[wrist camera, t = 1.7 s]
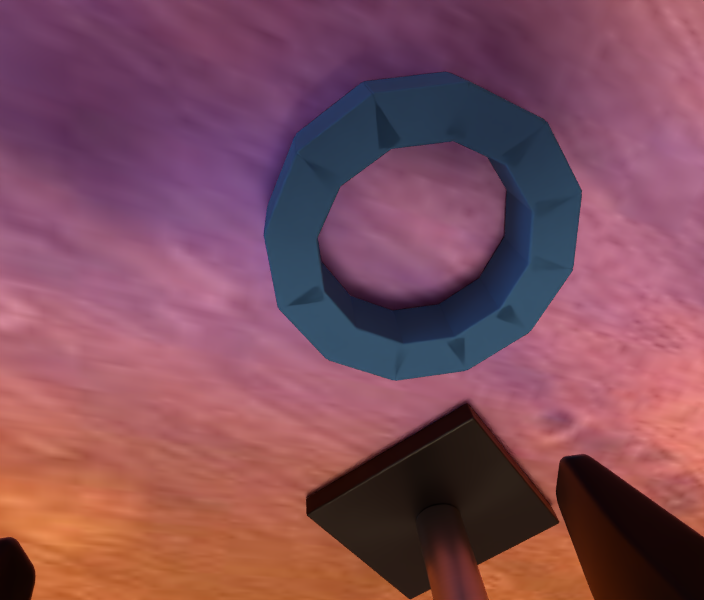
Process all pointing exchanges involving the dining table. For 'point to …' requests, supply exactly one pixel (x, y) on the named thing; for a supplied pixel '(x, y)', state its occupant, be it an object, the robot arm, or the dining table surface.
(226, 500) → the dining table surface
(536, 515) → the peg stand
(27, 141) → the dining table surface
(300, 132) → the blue ring
